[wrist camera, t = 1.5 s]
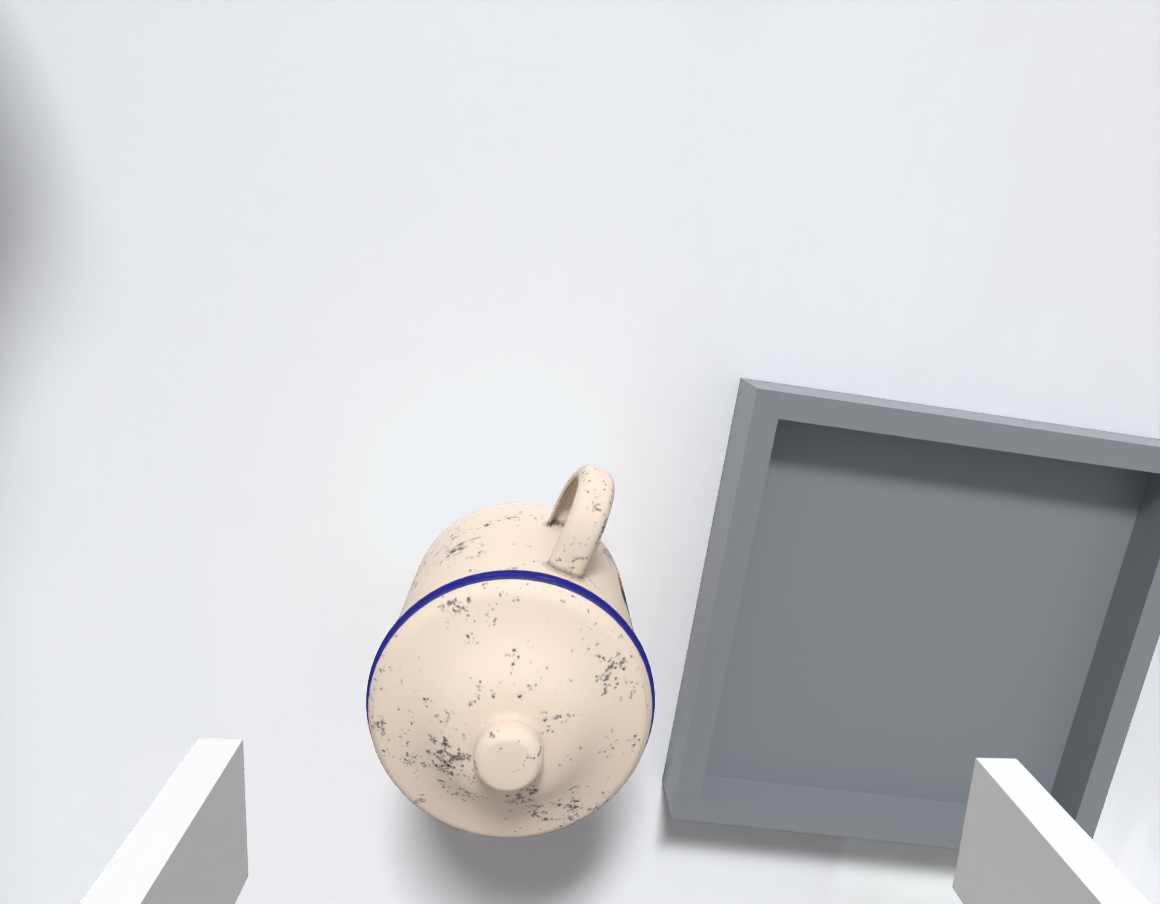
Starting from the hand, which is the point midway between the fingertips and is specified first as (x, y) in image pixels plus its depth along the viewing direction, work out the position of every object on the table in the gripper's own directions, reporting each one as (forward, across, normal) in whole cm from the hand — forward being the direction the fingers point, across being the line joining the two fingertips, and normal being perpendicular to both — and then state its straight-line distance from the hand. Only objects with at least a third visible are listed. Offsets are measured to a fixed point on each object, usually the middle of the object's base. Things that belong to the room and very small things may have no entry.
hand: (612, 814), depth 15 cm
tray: (+20, +14, -4) cm, 25 cm away
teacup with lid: (+20, -2, -3) cm, 20 cm away
